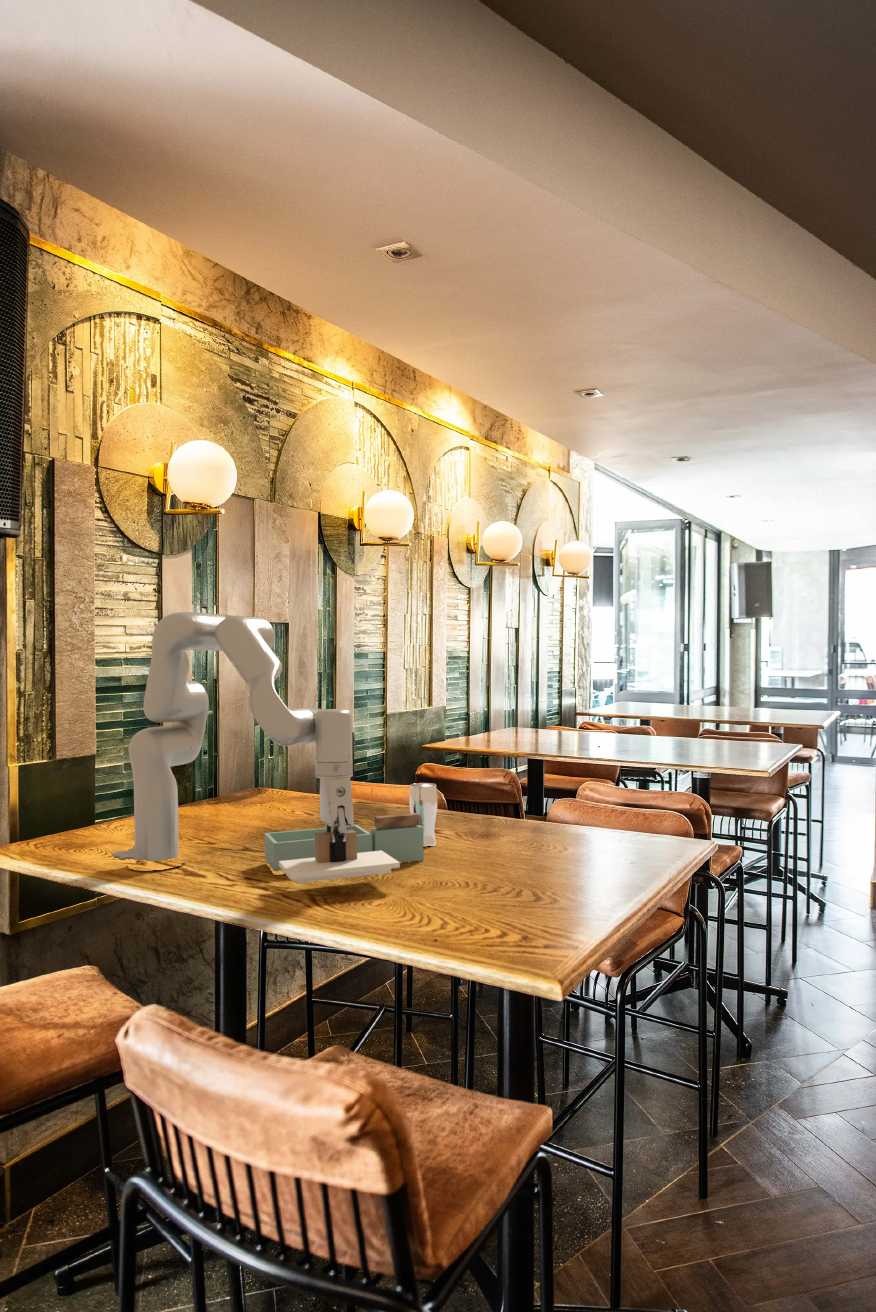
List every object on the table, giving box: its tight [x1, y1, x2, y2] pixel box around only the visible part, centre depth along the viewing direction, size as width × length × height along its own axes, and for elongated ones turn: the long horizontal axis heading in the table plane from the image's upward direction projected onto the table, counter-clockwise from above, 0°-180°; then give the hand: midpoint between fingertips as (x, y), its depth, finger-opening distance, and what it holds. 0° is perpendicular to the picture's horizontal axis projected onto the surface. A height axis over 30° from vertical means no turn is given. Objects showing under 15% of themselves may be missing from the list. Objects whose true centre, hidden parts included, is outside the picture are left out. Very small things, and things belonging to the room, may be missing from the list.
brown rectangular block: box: [374, 813, 419, 829], centre depth 193 cm, size 10×2×2 cm, turn 111°
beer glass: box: [409, 782, 438, 848], centre depth 210 cm, size 7×7×15 cm
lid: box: [279, 830, 401, 884], centre depth 171 cm, size 22×12×8 cm, turn 111°
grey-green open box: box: [264, 824, 425, 871], centre depth 193 cm, size 34×13×8 cm, turn 111°
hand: (335, 858), depth 172 cm, fingers closed on lid, 3 cm apart
